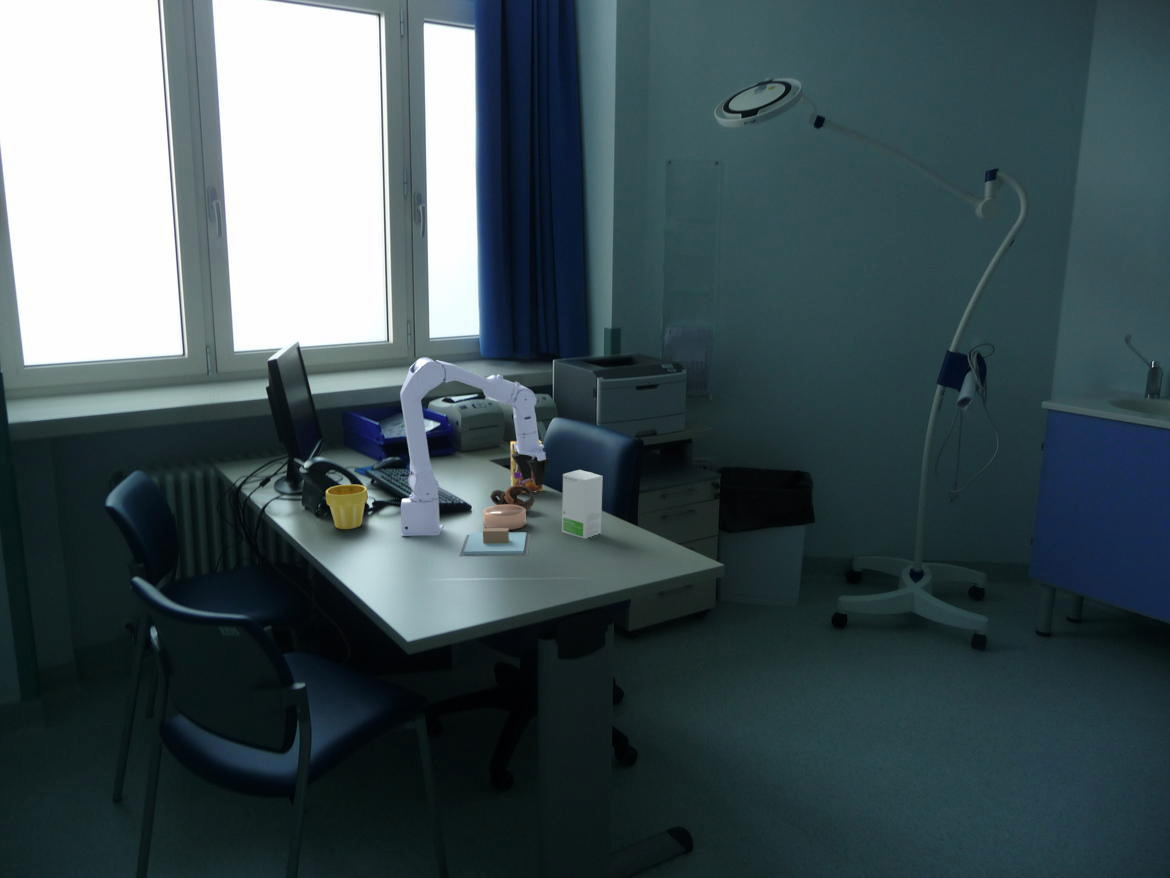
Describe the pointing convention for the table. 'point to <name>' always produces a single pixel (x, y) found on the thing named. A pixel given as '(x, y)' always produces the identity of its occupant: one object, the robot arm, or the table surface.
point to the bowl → (504, 516)
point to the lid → (495, 542)
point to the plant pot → (347, 505)
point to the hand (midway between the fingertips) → (533, 481)
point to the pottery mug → (513, 497)
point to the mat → (499, 554)
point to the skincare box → (582, 503)
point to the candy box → (517, 477)
